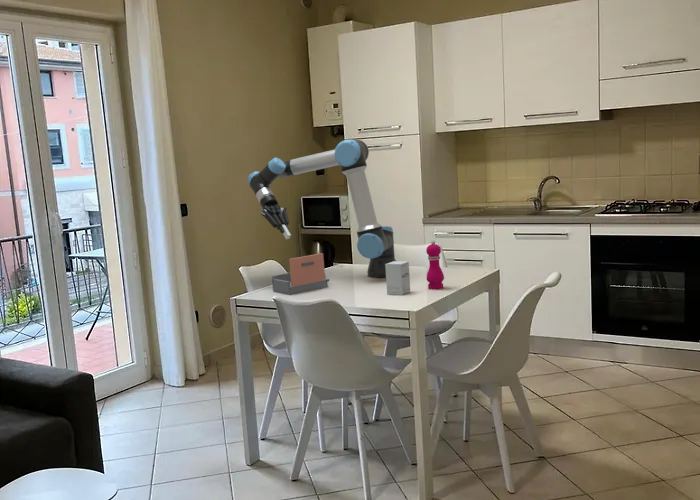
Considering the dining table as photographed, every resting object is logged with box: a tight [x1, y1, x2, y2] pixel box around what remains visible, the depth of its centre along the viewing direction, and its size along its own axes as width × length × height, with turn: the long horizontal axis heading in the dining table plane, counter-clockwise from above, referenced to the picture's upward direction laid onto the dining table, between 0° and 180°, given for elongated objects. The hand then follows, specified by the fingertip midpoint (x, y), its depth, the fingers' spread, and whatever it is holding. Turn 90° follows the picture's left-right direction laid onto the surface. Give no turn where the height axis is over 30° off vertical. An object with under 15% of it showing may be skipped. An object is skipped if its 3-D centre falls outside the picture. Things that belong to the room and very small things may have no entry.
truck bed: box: [271, 272, 330, 296], centre depth 311 cm, size 15×21×7 cm
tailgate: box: [288, 252, 326, 287], centre depth 305 cm, size 2×17×12 cm, turn 128°
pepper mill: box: [426, 239, 445, 290], centre depth 290 cm, size 7×7×20 cm
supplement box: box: [385, 260, 411, 296], centre depth 286 cm, size 7×7×13 cm
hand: (288, 237), depth 316 cm, fingers closed
